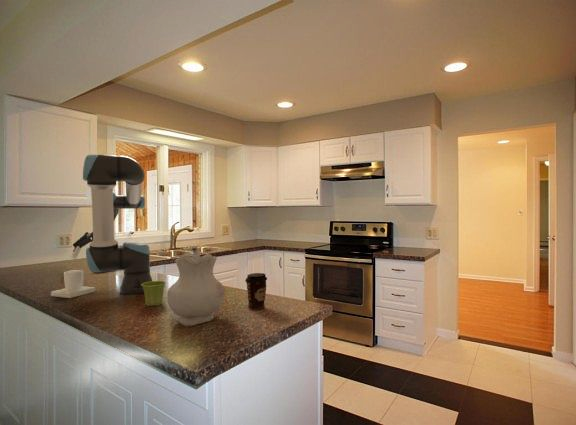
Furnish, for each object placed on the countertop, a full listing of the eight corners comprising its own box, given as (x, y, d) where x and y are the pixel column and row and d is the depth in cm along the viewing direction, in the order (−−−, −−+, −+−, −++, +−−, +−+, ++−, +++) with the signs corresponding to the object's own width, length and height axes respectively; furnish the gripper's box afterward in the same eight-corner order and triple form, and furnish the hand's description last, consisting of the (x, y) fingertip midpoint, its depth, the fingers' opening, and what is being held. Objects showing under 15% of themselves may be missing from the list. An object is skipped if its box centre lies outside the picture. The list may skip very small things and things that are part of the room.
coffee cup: (271, 305, 131) (270, 273, 131) (263, 312, 123) (262, 277, 123) (251, 304, 134) (250, 272, 134) (242, 310, 126) (241, 276, 126)
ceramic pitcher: (164, 317, 122) (157, 250, 121) (215, 305, 132) (209, 243, 130) (175, 336, 103) (167, 257, 102) (235, 320, 113) (228, 248, 112)
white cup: (74, 294, 152) (73, 273, 152) (59, 294, 154) (59, 272, 154) (87, 290, 160) (87, 270, 160) (74, 290, 162) (73, 269, 162)
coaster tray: (95, 291, 161) (95, 287, 161) (70, 298, 149) (70, 293, 149) (76, 289, 165) (76, 285, 165) (51, 296, 153) (51, 291, 153)
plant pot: (171, 302, 138) (170, 281, 138) (153, 308, 130) (153, 286, 130) (154, 300, 142) (154, 280, 142) (136, 306, 134) (136, 284, 134)
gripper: (128, 230, 185) (114, 261, 170) (83, 231, 185) (65, 262, 170) (123, 221, 180) (108, 252, 165) (77, 222, 180) (58, 253, 165)
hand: (86, 257), depth 167 cm, fingers open, 13 cm apart
